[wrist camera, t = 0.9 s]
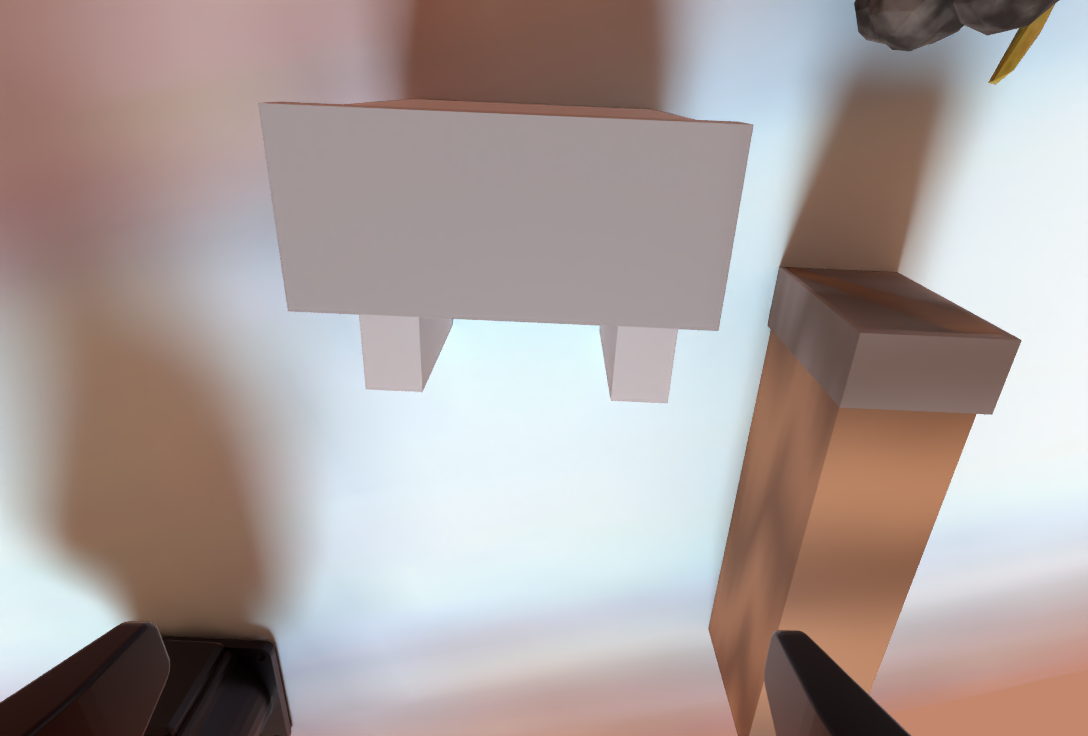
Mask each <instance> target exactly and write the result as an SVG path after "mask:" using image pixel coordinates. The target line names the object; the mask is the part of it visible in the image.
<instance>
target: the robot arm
mask: <svg viewBox="0 0 1088 736" xmlns="http://www.w3.org/2000/svg"><path fill="white" fill-rule="evenodd" d="M764 682H765V689H766V693H767V698H768V702H769V706H770V711H771V715H772V720H773V724H774V729H775V733H776V736H911V735H910V734H909V733H908V732H907V731H906V730H905V729H904V728H903V727H902V726H901V725H900V724H899V723H898V722H897V721H896V720H895V719H894V718H893V717H892V716H891V715H890V714H889V713H887V712H886V711H885V710H884V709H883V708H882V707H881V706H880V705H879V704H878V703H877V702H876V701H875V700H874V699H873V698H872V697H871V696H870V695H869V694H868V693H867V692H866V691H865V690H864V689H863V688H862V687H861V686H860V685H859V684H858V683H857V682H856V681H854V680H853V679H852V678H851V677H850V676H849V675H848V674H847V673H846V672H845V671H844V670H843V669H842V668H841V667H840V666H839V665H838V664H837V663H836V662H835V661H834V660H833V659H832V658H831V657H830V656H829V655H828V654H827V653H826V652H825V651H824V650H822V649H821V648H820V647H819V646H818V645H817V644H816V643H815V642H814V641H813V640H812V639H811V638H810V637H809V636H808V635H807V634H805V633H804V632H802V631H798V630H777V631H775V632H773V634H772V636H771V639H770V644H769V649H768V654H767V659H766V663H765V668H764ZM290 735H291V727H290V722H289V717H288V712H287V707H286V702H285V697H284V692H283V687H282V682H281V677H280V672H279V667H278V663H277V658H276V653H275V649H274V647H273V646H272V645H271V644H270V643H267V642H264V641H248V640H227V639H206V638H186V637H165V636H161V634H160V631H159V629H158V627H157V625H155V624H154V623H153V622H138V621H129V622H124V623H122V624H120V625H118V626H116V627H115V628H113V629H112V630H110V631H109V632H107V633H106V634H104V635H102V636H101V637H99V638H98V639H96V640H95V641H93V642H92V643H90V644H89V645H87V646H86V647H84V648H83V649H81V650H80V651H78V652H77V653H75V654H74V655H72V656H71V657H69V658H67V659H66V660H64V661H63V662H61V663H60V664H58V665H57V666H55V667H54V668H52V669H51V670H49V671H48V672H46V673H45V674H43V675H42V676H40V677H39V678H37V679H35V680H34V681H32V682H31V683H29V684H28V685H26V686H25V687H23V688H22V689H20V690H19V691H17V692H16V693H14V694H13V695H11V696H10V697H8V698H7V699H5V700H4V701H2V702H0V736H290Z"/></svg>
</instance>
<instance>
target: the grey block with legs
mask: <svg viewBox="0 0 1088 736" xmlns="http://www.w3.org/2000/svg"><path fill="white" fill-rule="evenodd" d="M258 105H259V112H260V119H261V126H262V133H263V140H264V147H265V154H266V161H267V168H268V175H269V182H270V189H271V196H272V203H273V210H274V217H275V224H276V231H277V238H278V245H279V252H280V259H281V266H282V273H283V280H284V287H285V294H286V301H287V308H288V311H295V312H317V313H339V314H359V319H360V329H361V340H362V351H363V362H364V373H365V384H366V389H371V390H393V391H414V392H423V389H424V387H425V385H426V383H427V381H428V378H429V376H430V374H431V372H432V370H433V367H434V365H435V363H436V361H437V358H438V356H439V354H440V352H441V350H442V347H443V345H444V343H445V341H446V339H447V336H448V334H449V332H450V330H451V327H452V325H453V324H452V319H471V320H493V321H515V322H537V323H559V324H581V325H600V337H601V343H602V349H603V355H604V361H605V368H606V374H607V380H608V386H609V392H610V399H611V401H631V402H652V403H668V396H669V389H670V381H671V374H672V367H673V360H674V353H675V346H676V339H677V332H678V329H690V330H712V331H718V330H719V324H720V318H721V312H722V306H723V300H724V295H725V289H726V283H727V277H728V271H729V265H730V259H731V253H732V248H733V242H734V236H735V230H736V224H737V218H738V212H739V206H740V201H741V195H742V189H743V183H744V177H745V171H746V165H747V159H748V154H749V148H750V142H751V136H752V130H753V125H752V124H747V123H742V122H731V121H708V120H695V119H691V118H686V117H682V116H678V115H674V114H670V113H666V112H662V111H658V110H654V109H635V108H612V107H589V106H566V105H543V104H520V103H497V102H474V101H452V100H429V99H404V100H392V101H380V102H368V103H355V104H343V105H342V104H319V103H297V102H268V103H258Z"/></svg>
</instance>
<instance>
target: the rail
mask: <svg viewBox="0 0 1088 736" xmlns="http://www.w3.org/2000/svg"><path fill="white" fill-rule="evenodd" d="M768 326H769V327H770V329H771V332H770V337H769V342H768V347H767V352H766V356H765V361H764V366H763V371H762V375H761V380H760V385H759V390H758V395H757V399H756V404H755V409H754V414H753V418H752V423H751V428H750V433H749V438H748V442H747V447H746V452H745V457H744V462H743V466H742V471H741V476H740V481H739V485H738V490H737V495H736V500H735V505H734V509H733V514H732V519H731V524H730V528H729V533H728V538H727V543H726V548H725V552H724V557H723V562H722V567H721V571H720V576H719V581H718V586H717V591H716V595H715V600H714V605H713V610H712V615H711V619H710V624H709V633H710V636H711V640H712V644H713V647H714V651H715V655H716V658H717V662H718V665H719V669H720V673H721V676H722V680H723V683H724V687H725V691H726V694H727V698H728V702H729V705H730V709H731V712H732V716H733V720H734V723H735V727H736V730H737V734H738V736H776V733H775V729H774V724H773V720H772V715H771V711H770V706H769V702H768V698H767V693H766V689H765V682H764V668H765V663H766V659H767V654H768V649H769V644H770V639H771V636H772V634H773V632H775V631H777V630H798V631H802V632H804V633H805V634H807V635H808V636H809V637H810V638H811V639H812V640H813V641H814V642H815V643H816V644H817V645H818V646H819V647H820V648H821V649H822V650H824V651H825V652H826V653H827V654H828V655H829V656H830V657H831V658H832V659H833V660H834V661H835V662H836V663H837V664H838V665H839V666H840V667H841V668H842V669H843V670H844V671H845V672H846V673H847V674H848V675H849V676H850V677H851V678H852V679H853V680H854V681H856V682H857V683H858V684H859V685H860V686H861V687H862V688H863V689H864V690H865V691H866V692H867V693H868V694H869V693H870V690H871V688H872V685H873V682H874V680H875V677H876V675H877V672H878V669H879V667H880V664H881V662H882V659H883V656H884V654H885V651H886V649H887V646H888V643H889V641H890V638H891V635H892V633H893V630H894V628H895V625H896V622H897V620H898V617H899V615H900V612H901V609H902V607H903V604H904V602H905V599H906V596H907V594H908V591H909V589H910V586H911V583H912V581H913V578H914V576H915V573H916V570H917V568H918V565H919V563H920V560H921V557H922V555H923V552H924V549H925V547H926V544H927V542H928V539H929V536H930V534H931V531H932V529H933V526H934V523H935V521H936V518H937V516H938V513H939V510H940V508H941V505H942V503H943V500H944V497H945V495H946V492H947V490H948V487H949V484H950V482H951V479H952V476H953V474H954V471H955V469H956V466H957V463H958V461H959V458H960V456H961V453H962V450H963V448H964V445H965V443H966V440H967V437H968V435H969V432H970V430H971V427H972V424H973V422H974V419H975V417H976V414H993V411H994V408H995V406H996V403H997V401H998V398H999V396H1000V393H1001V391H1002V388H1003V386H1004V383H1005V381H1006V378H1007V376H1008V373H1009V371H1010V368H1011V366H1012V363H1013V361H1014V358H1015V355H1016V353H1017V350H1018V348H1019V345H1020V343H1021V340H1020V339H1018V338H1017V337H1015V336H1013V335H1011V334H1009V333H1007V332H1006V331H1004V330H1002V329H1000V328H998V327H997V326H995V325H993V324H991V323H989V322H987V321H986V320H984V319H982V318H980V317H978V316H976V315H975V314H973V313H971V312H969V311H967V310H966V309H964V308H962V307H960V306H958V305H956V304H955V303H953V302H951V301H949V300H947V299H945V298H944V297H942V296H940V295H938V294H936V293H935V292H933V291H931V290H929V289H927V288H925V287H924V286H922V285H920V284H918V283H916V282H914V281H913V280H911V279H909V278H907V277H905V276H904V275H902V274H900V273H898V272H881V271H858V270H836V269H813V268H791V267H779V272H778V277H777V281H776V286H775V291H774V296H773V301H772V306H771V311H770V315H769V320H768Z"/></svg>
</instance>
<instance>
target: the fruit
mask: <svg viewBox="0 0 1088 736" xmlns="http://www.w3.org/2000/svg"><path fill="white" fill-rule="evenodd" d="M1058 1H1059V0H856V1H855V3H854V5H855V11H856V17H857V25H858V32H859V33H860V34H861V35H862V36H863V37H864V38H865V39H866V40H870V41H874V42H879V43H883V44H886V45H888V46H889V47H890V48H891V49H892V50H903V51H912V50H914V49H917V48H919V47H922V46H924V45H927V44H932V43H934V42H936V41H938V40H941V39H943V38H945V37H947V36H949V35H951V34H953V33H955V32H957V31H959V30H960V28H961V27H963V26H964V25H966V26H968V27H970V28H972V29H974V30H977V31H979V32H981V33H983V34H985V35H991V34H995V33H1000V32H1004V31H1008V30H1013V29H1017V28H1019V30H1018V31H1017V33H1016V35H1015V37H1014V38H1013V40H1012V42H1011V44H1010V45H1009V47H1008V49H1007V51H1006V53H1005V54H1004V56H1003V58H1002V60H1001V61H1000V63H999V65H998V67H997V68H996V70H995V72H994V74H993V75H992V77H991V79H990V81H989V82H988V83H992V84H997V83H998V82H999V81H1000V80H1002V79H1003V78H1004V77H1005V76H1007V75H1008V74H1009V73H1010V72H1012V71H1013V70H1014V69H1015V67H1016V66H1017V65H1018V63H1019V62H1020V60H1021V59H1022V58H1023V56H1024V55H1025V53H1026V52H1027V51H1028V49H1029V48H1030V46H1031V45H1032V44H1033V42H1034V41H1035V39H1036V38H1037V37H1038V35H1039V34H1040V32H1041V30H1042V28H1043V26H1044V24H1045V23H1046V21H1047V19H1048V17H1049V15H1050V13H1051V11H1052V9H1053V7H1054V5H1055V3H1056V2H1058Z"/></svg>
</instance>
